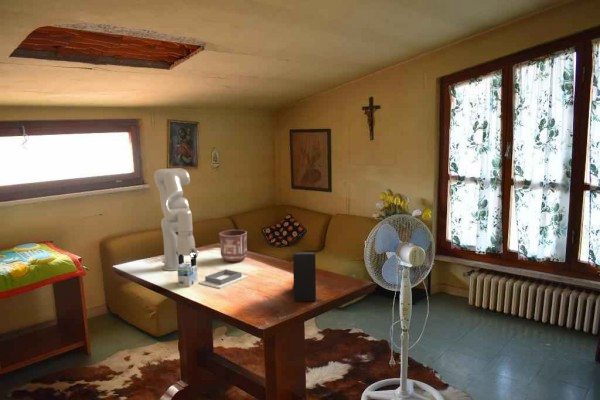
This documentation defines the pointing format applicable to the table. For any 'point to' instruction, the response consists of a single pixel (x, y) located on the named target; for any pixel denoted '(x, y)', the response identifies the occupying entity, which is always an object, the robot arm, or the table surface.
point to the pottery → (233, 245)
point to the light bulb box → (187, 274)
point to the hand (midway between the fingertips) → (187, 264)
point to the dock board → (223, 278)
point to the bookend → (304, 276)
